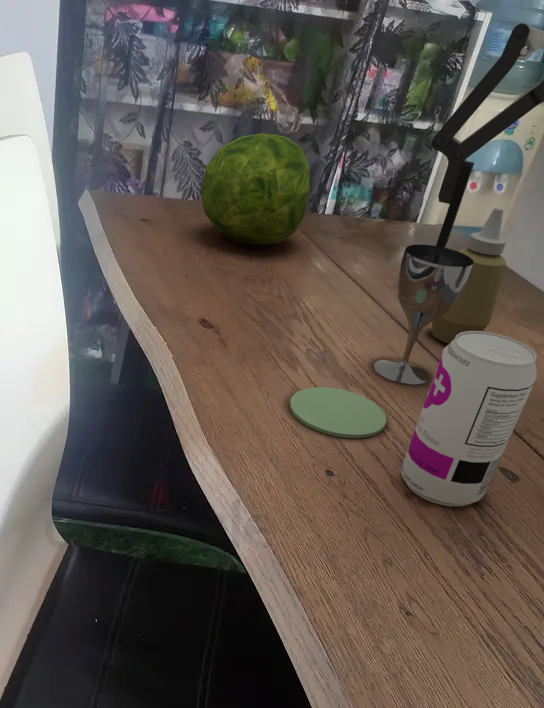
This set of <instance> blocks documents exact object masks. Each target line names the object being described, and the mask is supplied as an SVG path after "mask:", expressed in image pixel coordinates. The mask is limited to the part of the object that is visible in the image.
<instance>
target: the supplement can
mask: <svg viewBox="0 0 544 708" xmlns="http://www.w3.org/2000/svg"><path fill="white" fill-rule="evenodd" d="M536 361H537V353H536V352H535V351H534V350H533V349H532V348H531V347H529V346H528V345H526V344H525V343H523V342H521V341H519V340H517V339H514V338H512V337H510V336H506V335H502V334H499V333H494V332H490V331H467V332H461V333H459V334H458V335H456V337H455V339H454V340H453V341H452V342H451V343H450V344H449V343H448V344H447V345H446V346H445V347H444V348H443V350H442V352H441V355H440V357H439V360H438V364H437V367H436V369H435V371H434V375H433V377H432V380H431V383H430V386H429V389H428V392H427V394H426V397H425V400H424V403H423V406H422V409H421V412H420V414H419V417H418V420H417V423H416V425H415V428H414V431H413V433H412V437H411V439H410V442H409V444H408V448H407V451H406V453H405V456H404V459H403V461H402V465H401V470H400V473H401V476H402V478H403V481H404V482H405V483H406V485H407V487H408V488H409V489H410V490H411V491H412V492H413V493H414V494H416V495H417V496H419V497H420V498H422V499H424V500H426V501H429V502H431V503H434V504H436V505H441V506H446V507H465V506H468V505H472V504H473V503H476V502H479V501H481V499H482V498H483V497H484V496H485V495H486V492H487V490H488V488H489V485H490V484H491V482H492V479H493V476H494V474H495V473H496V470H497V467H498V465H499V463H500V461H501V459H502V457H503V454H504V453H505V450H506V448H507V445H508V444H509V441H510V438H511V437H512V434H513V432H514V429H515V428H516V425H517V423H518V421H519V418H520V416H521V414H522V411H523V409H524V408H525V405H526V403H527V400H528V398H529V397H530V394H531V392H532V389H533V387H534V385H535V383H536V380H537V378H538V373H537V365H536Z"/></svg>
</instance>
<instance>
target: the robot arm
mask: <svg viewBox="0 0 544 708" xmlns="http://www.w3.org/2000/svg"><path fill="white" fill-rule="evenodd" d="M540 49H541V50H542V49H543V50H544V30H541V29H537V28H534V27H530V25H529V24H527V23H526V22H525V23H524V22H521V23H519V24H517V25H515V26H514V27H513V29H512V31H511V32H510V35H509V37H508V39H507V41H506V44H505V46H504V49H503V51H502V53H501V55H500V57H499V58H498V60H496V62H495V63H494V64H493V65H492V66H491V67H490V69H489V70H488V71H487V72H486V74H484V76H483V77H482V79H481V80H480V81H479V82H478V83H477V85H476V86H475V87H474V88H473V90H471V92H470V93H469V94H468V96H467V97H466V98H465V99H464V100H463V101H462V102H461V104H460V105H459V106H458V107H457V108H456V110H455V111H454V112H453V113H452V114H451V116H450V117H449V119H447V121H446V122H445V123H444V124H443V125H442V126H441V128H440V129H439V130H438V132H436V134H435V135H434V136H433V138H432V139H431V143H430V145H431V147H432V149H433V150H435V151H438V152H439V153H441V154H443V155H444V156H445V157H446V158H447V166H446V170H445V173H444V176H443V179H442V182H441V185H440V188H439V191H438V194H437V197H438V198H437V199H438V202H439V203H443V204H448V207H447V211H446V214H445V217H444V220H443V223H442V226H441V228H440V232H439V235H438V238H437V241H436V244H435V246H439V247H443V248H446V247H447V245H448V241H449V240H450V236H451V233H452V230H453V227H454V224H455V222H456V219H457V215H458V213H459V210H460V208H461V203H462V201H463V198H464V195H465V192H466V189H467V186H468V184H469V180H470V177H471V174H472V171H473V170H474V169H473V168H474V165H475V162H473V161H468V160H467V159H468V158H469V157H471V156H472V155H473V154H474V153H476V152H477V151H478V150H480V149H481V148H482V147H484V146H485V145H487V144H488V143H489V142H491V141H493V139H495V138H497V136H498V135H500V134H501V133H503V132H504V131H505V130H506V129H508V128H509V127H511V126H512V125H513V124H515V123H516V122H517V121H518V120H520V119H522V118H523V117H524V116H525V115H526V114H528V113H529V112H531V111H532V110H533V109H535V108H536V107H537V106H539V105H540V104H541V103H543V102H544V78H543V79H541V80H540V81H539V82H537V83H536V84H534V85H533V86H532V87H531V88H530V89H529V90H527V91H526V92H524V93H523V94H522V95H521V96H519V97H518V98H516V99H515V100H514V101H513V102H511V104H508V105H507V106H506V107H505V108H504V109H503V110H501V111H500V112H498V114H496V115H495V116H493V117H492V118H490V120H489V121H487V122H486V123H484V124H483V125H482V126H480V127H479V128H477V129H476V130H475V131H474V132H472V133H471V134H470V135H469V136H467V137H466V138H465V139H463V140H462V141H460V140H459V139H457V138H456V137H455V136H456V135H457V133H458V132H459V131H460V130H461V129H462V127H463V126H464V125H465V124H466V123H467V122H468V121H469V120H470V118H471V117H472V116H473V115H474V114H475V112H477V110H478V109H479V107H480V106H481V105H482V104H483V103H484V102H485V100H486V99H487V98H488V97H490V95H491V93H492V92H493V91H494V90H495V89H496V88H497V87H498V85H499V84H500V82H502V81H503V80H504V78H505V77H506V76H507V75H508V74H509V72H510V71H511V70H512V68H513V67H514V66H515V64H516V63H517V61H518V60H519V61H526V60H528V59H529V58H530V57H531V56H532V55H533V54H534V52H535V51H538V50H540Z"/></svg>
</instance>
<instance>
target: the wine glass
mask: <svg viewBox="0 0 544 708" xmlns="http://www.w3.org/2000/svg"><path fill="white" fill-rule="evenodd" d="M458 251H459V250H455V249H452V248H447V247H445V248H443V247H439V246H436V245H432V244H410V245H408V246H406V247H405V248H404V252H403V255H402V258H401V261H400V266H399V270H398V276H397V285H396V294H397V300H398V302H399V304H400V306H401V309H402V311H403V313H404V315H405V317H406V320H407V323H408V335H407V341H406V344H405V345H406V346H405V348H404V352H403V355H402V358H401V359H395V358H385V359H380V360H377V361H375V363H374V364H373V369H374V371H375V372H376V373H377V374H379V375H380V376H382V377H383V378H385V379H387V380H389V381H392V382H395V383H399V384H404V385H421V384H422V385H423V384H425V383H428V381H429V380H430V374H429V373H428V371H426V369H424V368H423V367H421V366H419V365H417V364H415V363H412V362H410V361H409V360H410V357H411V353H412V350H413V348H414V346H415V343H416V341H417V339H418V337H419V335H420V333H422V331H423V329H424V328H425V327H427V326H428V325H429V324H431V323H432V321H433V320H435V319H437V318H438V317H440V316H441V315H443V314H445V313H446V312H447V311H448V310H450V309H451V308H452V306H453V305H454V304H455V303H456V301H457V299H458V298H459V296H460V295H461V293H462V291H463V289H464V287H465V285H466V283H467V280H468V278H469V275H470V272H471V270H472V267H473V263H474V261H473V260H472V259H471V258H470V257H469V256H467V255H465V254H463V253H461V252H458Z"/></svg>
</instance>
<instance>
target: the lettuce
mask: <svg viewBox="0 0 544 708" xmlns="http://www.w3.org/2000/svg"><path fill="white" fill-rule="evenodd" d="M214 154H215V155H213V157H212V158H211V159H210V161H209V162H208V163H207V164H206V166H205V169H204V173H203V176H202V181H201V185H200V191H199V192H200V197H201V201H202V206H203V211H204V214H205V216H206V218H208V220H209V221H210V223H211V224H212V225H213V226H214V228H215V229H216V231H217V232H219V233H220V234H223V235H224V236H225V237H228V238H229V239H230V240H233V241H235V242H236V243H242V244H247V245H248V244H249V245H254V246H266V245H272V244H279V243H281V242H282V241H285V240H286V239H287V238H289V237H291V236H293V235H294V234H295V233H296V232H297V230H298V228H300V227H299V226H300V224H301V223H302V221H303V219H304V217H305V216H306V214H307V210H308V209H307V208H308V205H309V204H308V203H309V197H310V191H311V181H310V180H311V178H310V177H311V176H310V175H311V174H310V172H311V171H310V165H309V162H308V160H307V157H306V153H305V152H304V148H302V147H301V146H300V145H298V144H297V143H295V142H294V141H293V140H291V139H290V138H288V137H287V136H284V135H278V134H271V133H265V132H262V133H256V134H250V135H244V136H239V137H237V138H236V139H234V140H232V141H230V142H228V143H227V144H225V145H224V146H221V147H220V148H219V149H218V150H217V151H216V153H214Z"/></svg>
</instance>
